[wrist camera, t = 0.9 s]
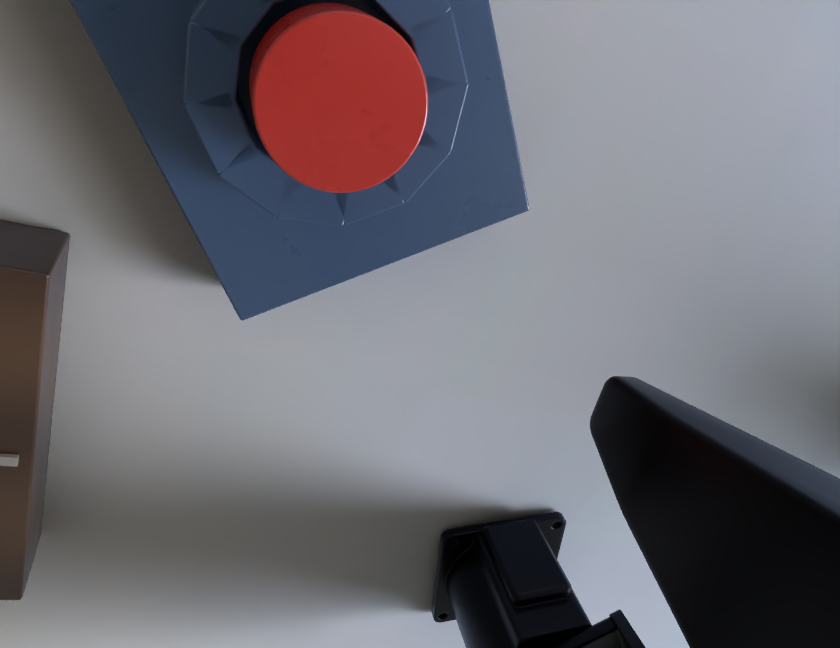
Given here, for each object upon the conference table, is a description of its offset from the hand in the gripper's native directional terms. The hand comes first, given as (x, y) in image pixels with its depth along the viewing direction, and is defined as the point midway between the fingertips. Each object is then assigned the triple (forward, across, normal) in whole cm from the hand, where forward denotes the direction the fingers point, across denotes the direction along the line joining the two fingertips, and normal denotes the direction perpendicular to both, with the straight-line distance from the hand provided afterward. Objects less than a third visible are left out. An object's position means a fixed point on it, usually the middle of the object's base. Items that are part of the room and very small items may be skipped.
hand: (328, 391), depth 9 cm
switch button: (+10, -1, -2) cm, 10 cm away
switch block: (+13, -1, -2) cm, 14 cm away
